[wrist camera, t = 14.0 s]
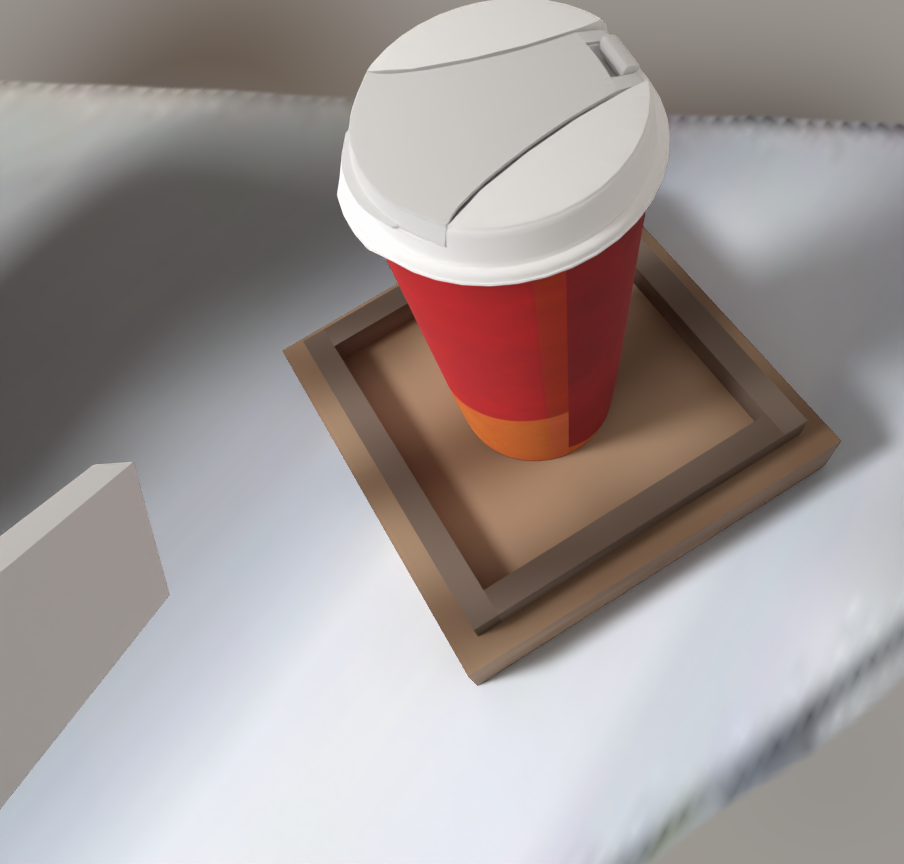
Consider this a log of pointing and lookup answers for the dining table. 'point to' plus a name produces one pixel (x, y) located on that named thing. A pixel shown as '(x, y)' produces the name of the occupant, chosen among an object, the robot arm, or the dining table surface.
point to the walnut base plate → (559, 463)
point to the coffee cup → (511, 207)
